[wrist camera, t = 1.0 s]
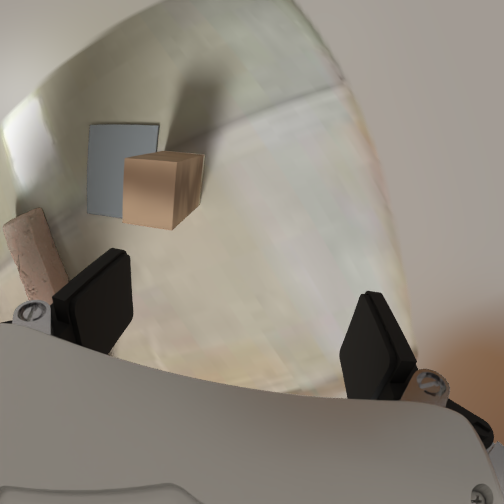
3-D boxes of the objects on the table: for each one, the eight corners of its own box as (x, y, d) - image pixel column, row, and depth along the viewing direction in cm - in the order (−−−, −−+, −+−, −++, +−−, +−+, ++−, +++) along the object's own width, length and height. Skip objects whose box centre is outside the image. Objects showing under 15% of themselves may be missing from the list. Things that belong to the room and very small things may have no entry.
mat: (152, 221, 36) (151, 222, 36) (88, 212, 36) (87, 213, 36) (159, 125, 32) (158, 125, 31) (91, 124, 32) (90, 125, 32)
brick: (15, 217, 38) (-3, 226, 34) (43, 204, 37) (23, 212, 33) (50, 304, 44) (35, 317, 40) (80, 300, 43) (65, 315, 38)
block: (199, 204, 35) (171, 230, 26) (160, 199, 35) (122, 222, 26) (205, 154, 33) (177, 162, 23) (164, 150, 33) (124, 158, 24)
